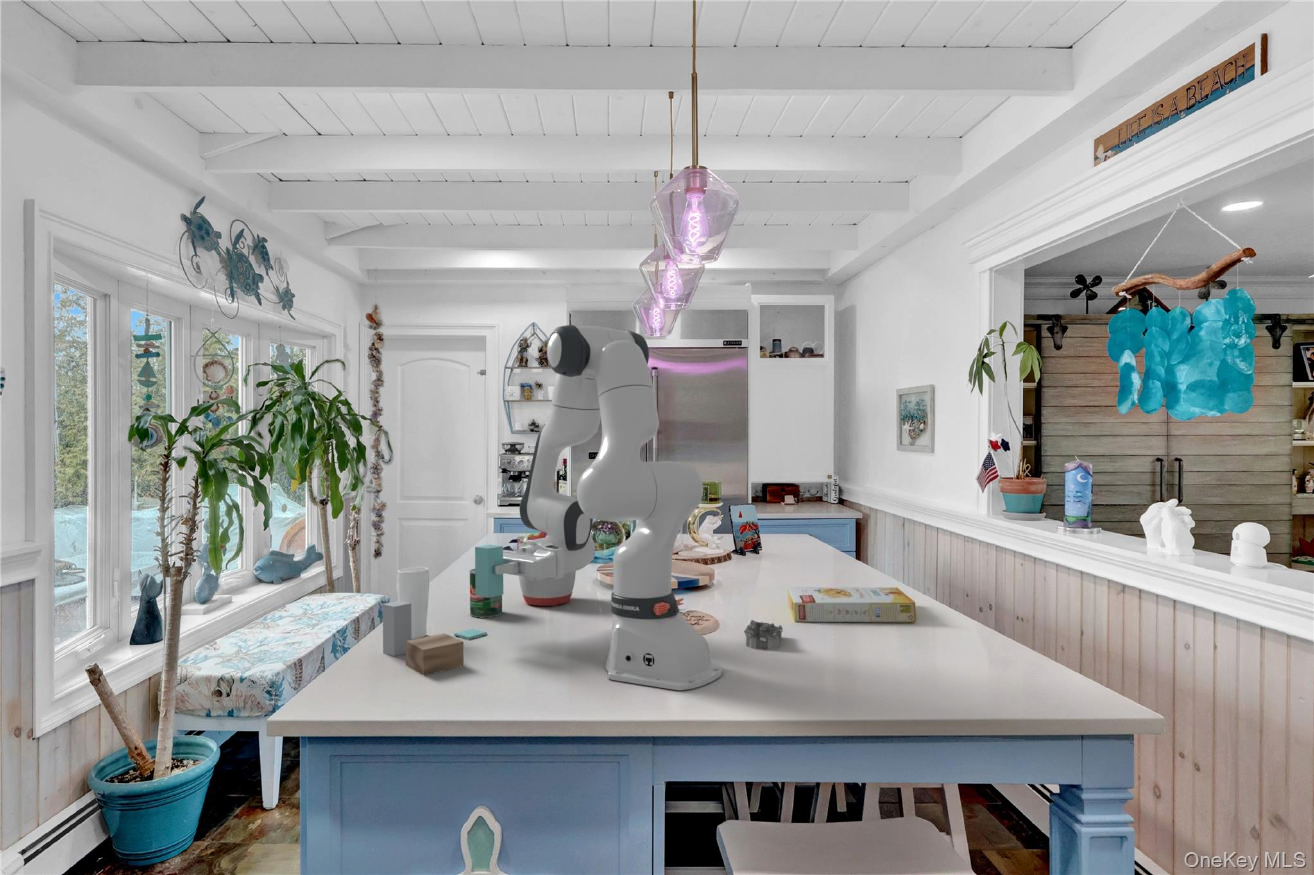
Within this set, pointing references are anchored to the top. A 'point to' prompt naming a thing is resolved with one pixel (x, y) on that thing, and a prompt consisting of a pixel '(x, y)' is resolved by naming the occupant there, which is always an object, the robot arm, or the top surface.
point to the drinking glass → (415, 596)
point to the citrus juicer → (546, 586)
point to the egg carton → (763, 635)
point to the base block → (434, 654)
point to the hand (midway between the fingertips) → (485, 568)
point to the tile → (470, 633)
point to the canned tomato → (483, 602)
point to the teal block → (488, 570)
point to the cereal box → (850, 604)
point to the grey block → (396, 627)
